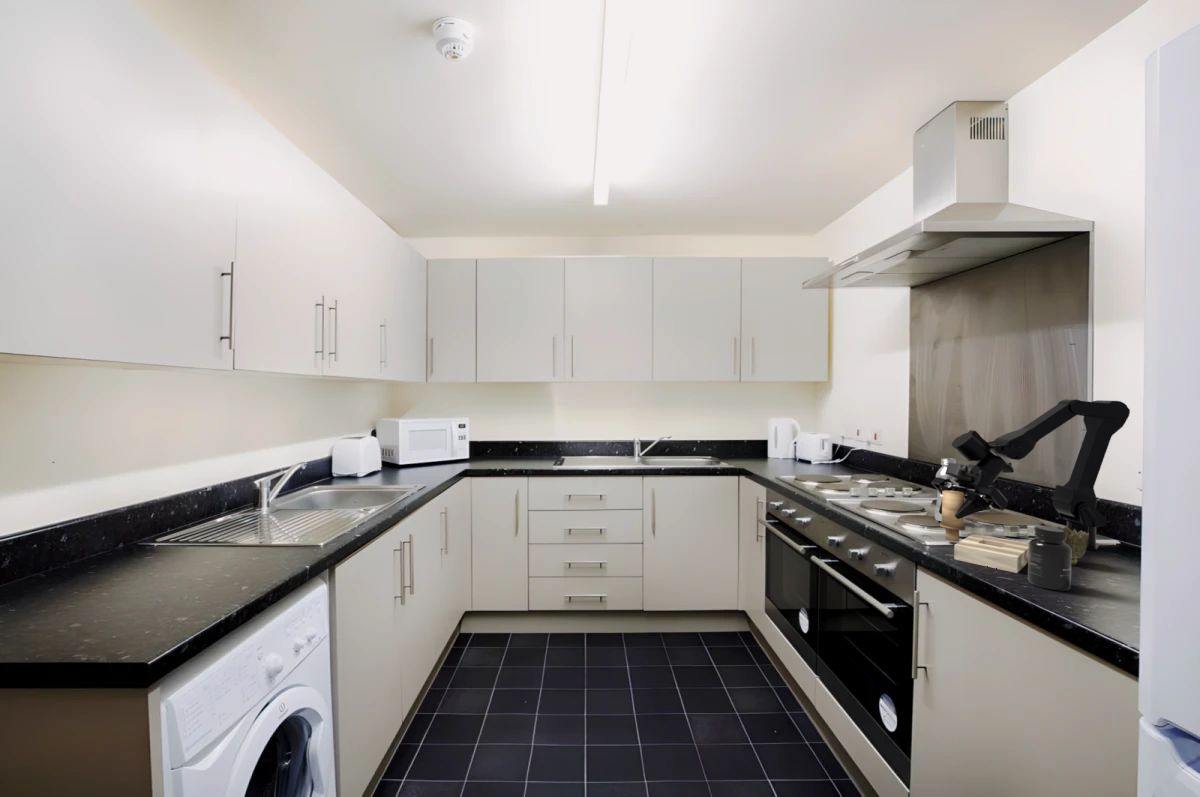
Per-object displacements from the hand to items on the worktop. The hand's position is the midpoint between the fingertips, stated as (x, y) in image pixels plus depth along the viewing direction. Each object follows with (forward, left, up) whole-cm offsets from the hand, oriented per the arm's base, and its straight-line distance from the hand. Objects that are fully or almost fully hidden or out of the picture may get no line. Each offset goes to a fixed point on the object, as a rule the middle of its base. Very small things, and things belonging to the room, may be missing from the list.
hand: (948, 515), depth 136 cm
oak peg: (-1, +1, -7) cm, 7 cm away
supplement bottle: (+18, +23, -8) cm, 30 cm away
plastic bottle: (-24, -7, -8) cm, 26 cm away
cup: (-4, +23, -8) cm, 25 cm away
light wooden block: (+6, +11, -8) cm, 15 cm away
